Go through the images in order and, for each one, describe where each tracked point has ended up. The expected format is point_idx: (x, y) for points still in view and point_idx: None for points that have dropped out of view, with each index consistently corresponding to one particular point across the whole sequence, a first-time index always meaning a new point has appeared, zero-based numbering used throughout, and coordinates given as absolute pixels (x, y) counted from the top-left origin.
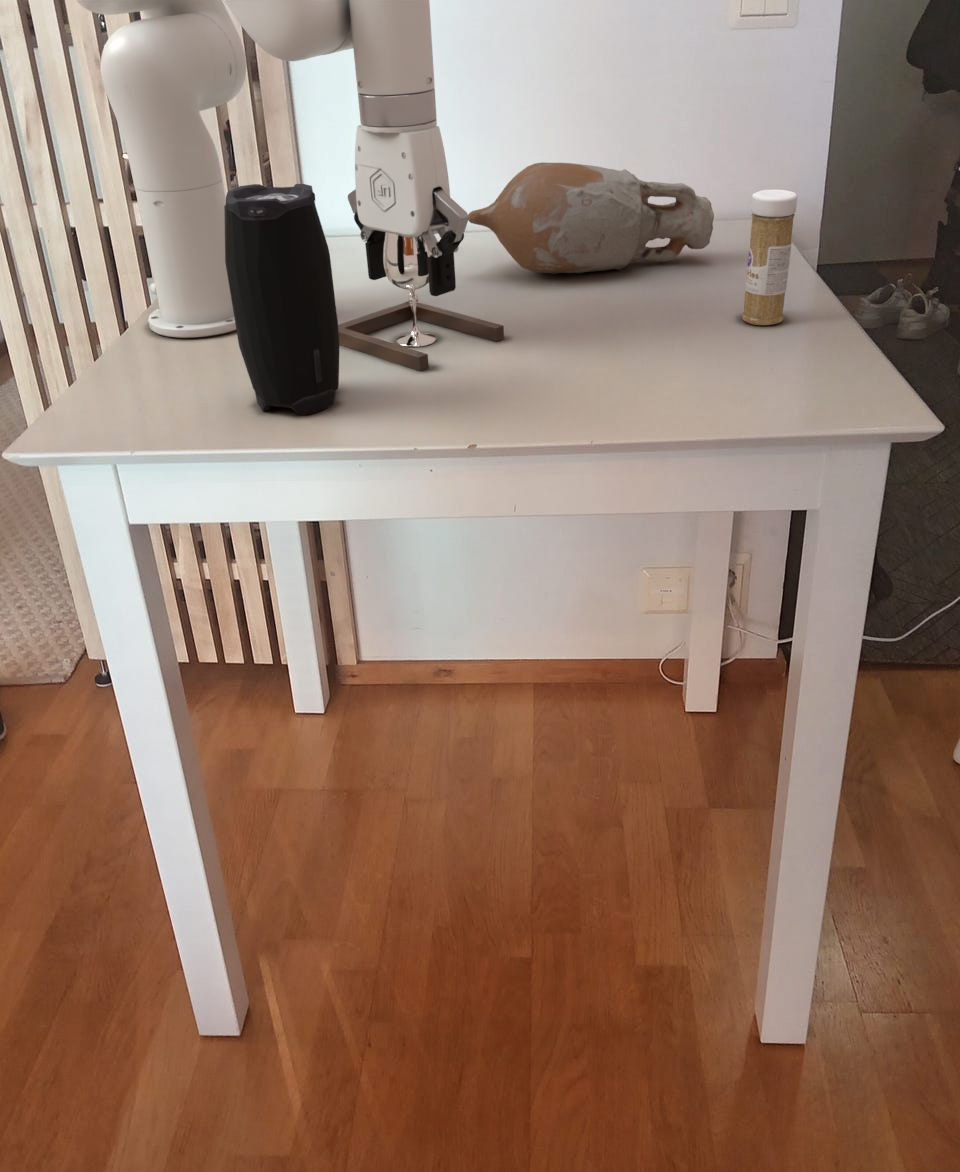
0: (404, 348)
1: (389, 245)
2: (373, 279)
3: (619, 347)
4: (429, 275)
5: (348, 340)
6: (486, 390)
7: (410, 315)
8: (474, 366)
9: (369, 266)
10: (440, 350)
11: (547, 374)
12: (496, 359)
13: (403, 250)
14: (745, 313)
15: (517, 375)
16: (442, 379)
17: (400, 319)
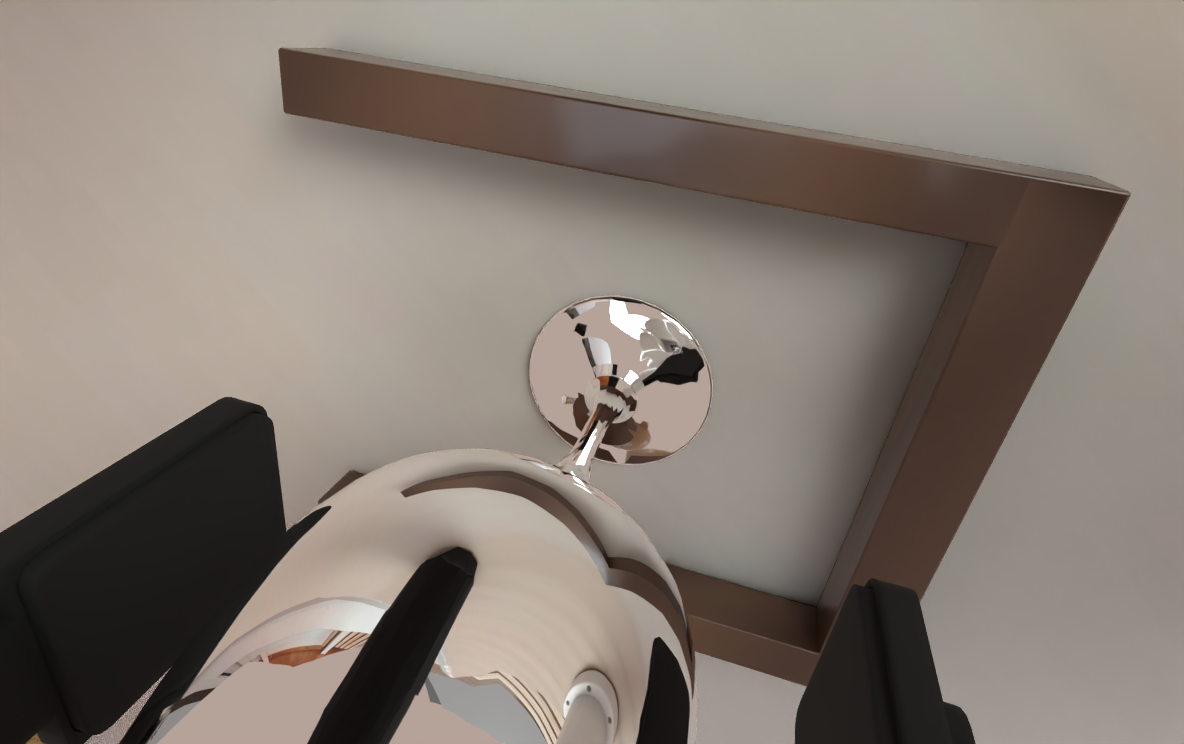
0: (425, 118)
1: (348, 716)
2: (868, 583)
3: None
4: (139, 470)
5: (887, 147)
6: (3, 20)
7: (820, 608)
8: (223, 224)
9: (904, 662)
10: (449, 320)
11: (23, 272)
12: (226, 323)
13: (215, 653)
14: (37, 741)
15: (65, 218)
16: (193, 22)
17: (841, 561)
